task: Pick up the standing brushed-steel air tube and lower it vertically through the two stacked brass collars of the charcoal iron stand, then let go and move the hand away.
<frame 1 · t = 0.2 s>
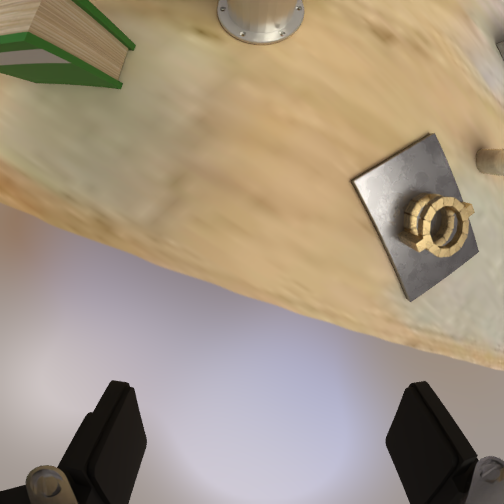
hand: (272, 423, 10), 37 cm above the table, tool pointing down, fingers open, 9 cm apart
hardback book: (82, 63, 38), on the table
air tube: (484, 161, 42), on the table
collar stand: (422, 218, 45), on the table
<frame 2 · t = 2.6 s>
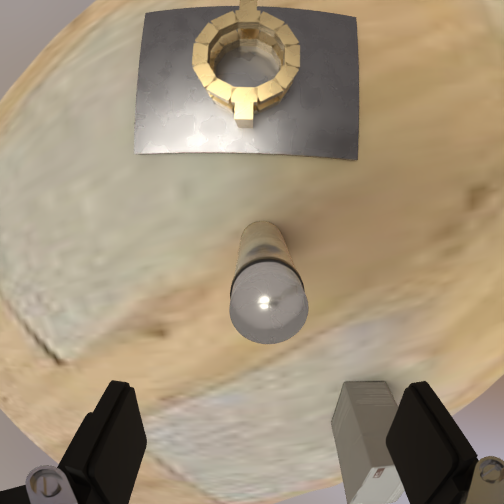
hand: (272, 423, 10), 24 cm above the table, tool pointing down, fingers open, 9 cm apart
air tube: (261, 242, 33), on the table
skincare box: (355, 400, 39), on the table
collar stand: (247, 77, 29), on the table
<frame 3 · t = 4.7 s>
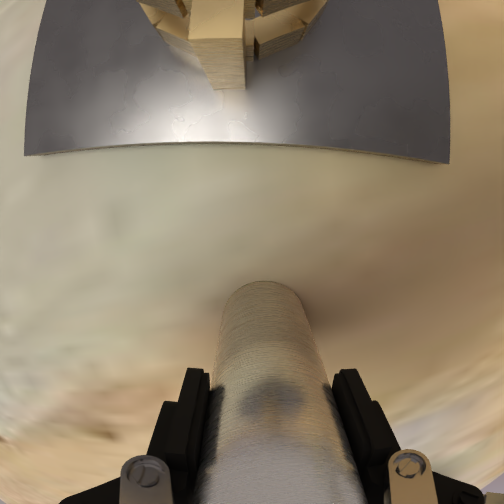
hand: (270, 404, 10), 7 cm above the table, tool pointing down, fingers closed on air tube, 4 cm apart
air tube: (263, 319, 17), on the table, touching gripper
collar stand: (236, 1, 13), on the table
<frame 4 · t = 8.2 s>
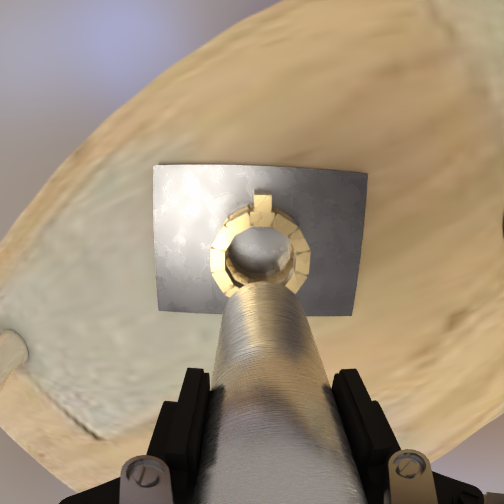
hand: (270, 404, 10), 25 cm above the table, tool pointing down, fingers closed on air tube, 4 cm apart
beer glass: (15, 345, 39), on the table
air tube: (263, 319, 17), point 18 cm above the table, touching gripper
collar stand: (258, 241, 34), on the table
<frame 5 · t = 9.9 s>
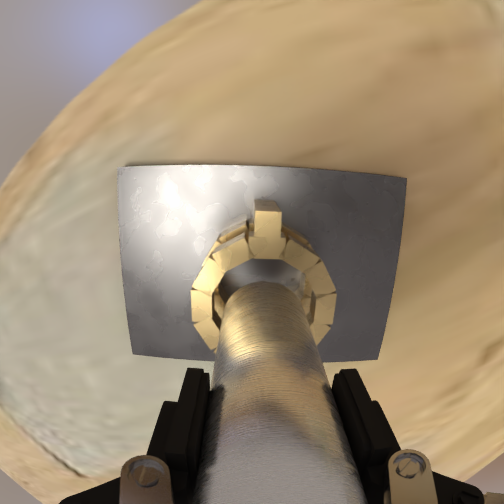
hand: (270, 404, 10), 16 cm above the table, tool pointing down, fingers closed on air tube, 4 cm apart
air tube: (263, 319, 17), point 9 cm above the table, touching gripper
collar stand: (260, 268, 26), on the table
when the fingers open (9 cm above the table, at t = 11.5 s): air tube stays where it is, resting on collar stand.
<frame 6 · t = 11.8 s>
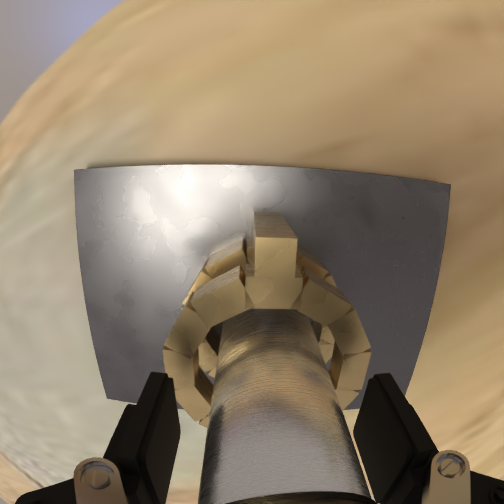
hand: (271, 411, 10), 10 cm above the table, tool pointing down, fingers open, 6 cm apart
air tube: (264, 311, 18), point 2 cm above the table, touching collar stand
collar stand: (261, 300, 19), on the table
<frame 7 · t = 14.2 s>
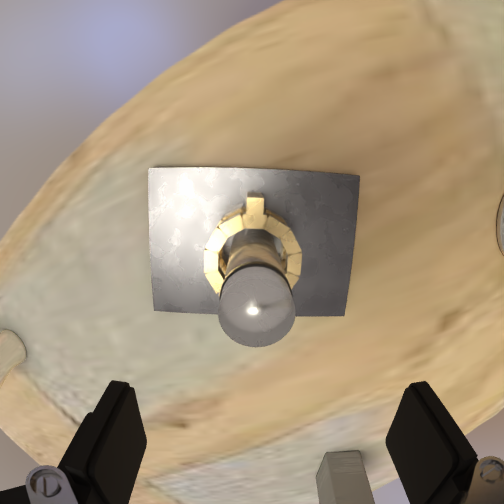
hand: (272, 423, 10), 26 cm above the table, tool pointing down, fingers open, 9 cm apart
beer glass: (13, 345, 39), on the table
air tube: (252, 246, 34), point 2 cm above the table, touching collar stand
skincare box: (335, 462, 46), on the table
collar stand: (252, 242, 35), on the table
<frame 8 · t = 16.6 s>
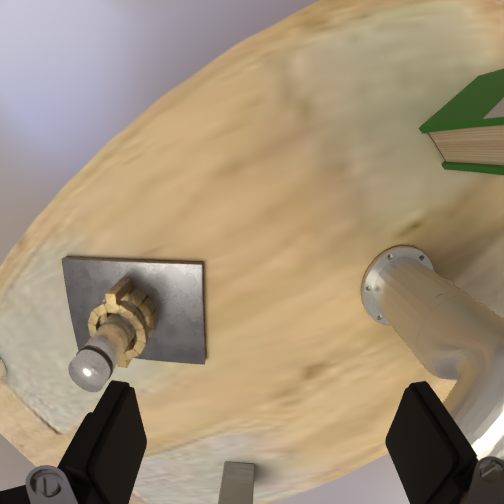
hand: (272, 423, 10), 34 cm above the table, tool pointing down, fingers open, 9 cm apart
hardback book: (463, 119, 38), on the table
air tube: (130, 313, 44), point 1 cm above the table, touching collar stand
skincare box: (236, 470, 56), on the table
collar stand: (133, 309, 46), on the table
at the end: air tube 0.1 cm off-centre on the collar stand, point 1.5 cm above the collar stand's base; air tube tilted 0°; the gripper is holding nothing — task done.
